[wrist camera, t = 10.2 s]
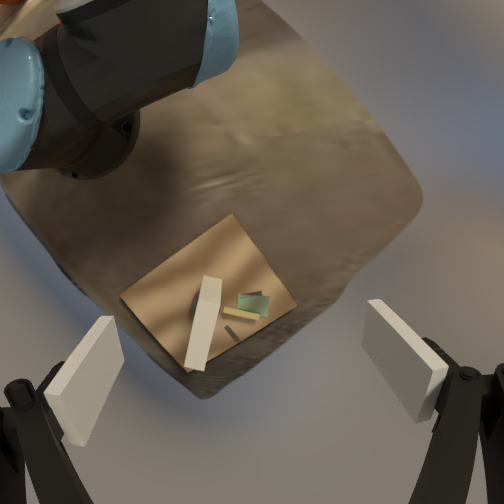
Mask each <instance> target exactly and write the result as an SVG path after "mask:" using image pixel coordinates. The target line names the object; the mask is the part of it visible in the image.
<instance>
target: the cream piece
mask: <svg viewBox="0 0 504 504" xmlns="http://www.w3.org/2000/svg"><path fill="white" fill-rule="evenodd" d="M221 287H222V279H218V278H214V277H209V276H205V275H204V277H203V281H202V286H201V290H199V291H197V292H196V293H195V295H194V296H193V299H192V303H191V311H192V314H193V315H194V316H195V317H194V321H193V326H192V331H191V335H190V340H189V345H188V349H187V354H186V359H185V364H184V367H187V368H192V369H196V370H201V371H204V368H205V364H206V360H207V356H208V352H209V348H210V344H211V340H212V336H213V332H214V328H215V324H216V320H217V316H218V315H219V313H220V309H221ZM223 313H227V314H231V315H236V316H240V317H245V318H250V319H255V320H259V317H260V314H256V313H251V312H246V311H242V310H237V309H232V308H228V307H224V310H223Z"/></svg>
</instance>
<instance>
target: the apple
mask: <svg viewBox="0 0 504 504" xmlns="http://www.w3.org/2000/svg"><path fill="white" fill-rule="evenodd" d="M18 1H20V0H0V4H9V5H12V4H14V3H16V2H18Z"/></svg>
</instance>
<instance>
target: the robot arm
mask: <svg viewBox="0 0 504 504" xmlns="http://www.w3.org/2000/svg"><path fill="white" fill-rule="evenodd" d="M54 11H55V13H56V15H57V16H58V18H59V19H60V21H61V22H60V23H59V24H57V25H56V26H54V27H52V28H51V29H49V30H48V31H46V32H45V33H43V34H42V35H41V36H39V37H38V38H36V39H35V40H33V41H31V40H29V39H28V38H25V37H19V38H7V39H4V40H1V41H0V172H1V173H11V172H12V171H19V170H30V169H42V168H54V169H55V170H56V171H58V172H59V173H61V174H62V175H64V176H67V177H70V178H74V179H91V178H97V177H100V176H103V175H106V174H108V173H109V172H111V171H113V170H114V169H115V168H117V167H118V166H119V165H120V164H121V163H122V162H123V161H124V160H125V159H126V158H127V156H128V155H129V153H130V152H131V150H132V148H133V146H134V144H135V142H136V139H137V136H138V133H139V128H140V110H139V109H141V108H143V107H145V106H147V105H149V104H151V103H153V102H155V101H158V100H160V99H162V98H164V97H167V96H169V95H171V94H173V93H176V92H178V91H180V90H183V89H185V88H188V89H192V88H194V87H196V86H197V85H198V84H199V83H200V82H203V81H205V80H207V79H210V78H212V77H215V76H217V75H219V74H222V73H224V72H225V71H227V70H228V69H229V68H230V66H231V65H232V64H233V62H234V61H235V59H236V56H237V52H238V45H239V30H238V19H237V13H236V6H235V1H234V0H56V3H55V6H54ZM362 346H363V348H364V349H365V351H366V352H367V353H368V355H369V356H370V358H371V359H372V361H373V362H374V363H375V365H376V366H377V368H378V369H379V371H380V372H381V374H382V375H383V377H384V378H385V379H386V381H387V382H388V384H389V385H390V387H391V388H392V389H393V391H394V393H395V394H396V395H397V397H398V398H399V400H400V401H401V403H402V404H403V406H404V407H405V409H406V410H407V412H408V413H409V415H410V416H411V418H412V419H413V421H414V422H415V424H417V423H419V422H423V421H426V420H429V419H431V416H432V414H433V411H434V409H436V411H437V412H438V413H439V415H438V418H437V420H436V423H435V425H434V427H433V430H432V432H433V435H432V438H431V442H430V445H429V448H428V451H427V454H426V458H425V461H424V464H423V466H422V469H421V472H420V475H419V478H418V480H417V483H416V486H415V488H414V491H413V493H412V496H411V498H410V501H409V503H408V504H465V503H466V499H467V495H468V491H469V486H470V481H471V477H472V472H473V466H474V461H475V455H476V448H477V440H478V433H479V435H480V441H481V447H482V454H483V461H484V468H485V476H486V487H487V500H488V504H504V363H502V364H499V365H498V366H497V368H496V369H495V373H494V374H491V375H482V374H481V373H480V372H479V371H478V370H476V369H475V368H472V367H467V366H464V367H460V366H459V365H458V364H457V363H456V362H455V361H454V360H453V359H452V358H451V357H450V356H449V355H448V354H447V353H445V352H444V350H443V349H440V347H439V346H438V345H437V344H436V343H435V342H434V341H432V340H430V339H428V338H426V337H425V338H420V337H419V336H418V335H417V334H416V333H415V332H414V331H413V330H412V329H411V328H410V327H409V326H408V325H407V324H406V323H405V322H404V321H403V320H401V319H400V318H399V317H398V316H397V315H396V314H395V313H394V312H393V311H392V310H391V309H390V308H389V307H388V306H387V305H386V304H385V303H384V302H383V301H381V300H380V299H376V300H368V301H367V306H366V316H365V325H364V333H363V341H362ZM123 363H124V357H123V353H122V349H121V345H120V341H119V337H118V333H117V329H116V325H115V320H114V316H100V317H99V319H98V320H97V321H96V323H95V324H94V325H93V326H92V328H91V329H90V330H89V332H88V333H87V334H86V335H85V337H84V338H83V339H82V341H81V342H80V343H79V345H78V346H77V347H76V349H75V350H74V351H73V353H72V354H71V355H70V357H69V358H68V359H67V361H61V362H60V363H58V364H57V365H55V366H54V367H53V368H52V369H51V371H50V372H49V375H47V376H46V378H45V380H43V382H42V383H41V384H40V386H39V387H38V388H37V390H36V391H35V389H34V387H33V385H32V383H31V382H30V381H29V380H27V379H17V380H14V381H12V382H10V383H9V384H8V385H7V386H6V387H5V389H4V394H5V396H6V398H7V400H8V402H9V404H10V406H11V407H4V408H1V407H0V504H27V502H26V488H25V462H26V466H27V469H28V472H29V475H30V478H31V481H32V484H33V487H34V489H35V492H36V495H37V497H38V500H39V503H40V504H94V503H93V502H92V500H91V498H90V497H89V495H88V493H87V491H86V489H85V488H84V486H83V484H82V482H81V480H80V478H79V476H78V474H77V472H76V471H75V468H74V466H73V464H72V463H71V460H70V458H69V456H68V454H67V452H66V450H65V447H64V445H63V444H62V442H61V439H62V437H63V435H65V437H66V439H67V440H68V442H69V443H70V444H73V445H79V446H84V447H85V446H86V443H87V441H88V439H89V436H90V434H91V432H92V429H93V427H94V425H95V422H96V420H97V418H98V416H99V414H100V411H101V409H102V407H103V405H104V403H105V400H106V398H107V396H108V394H109V392H110V390H111V388H112V385H113V383H114V381H115V379H116V377H117V375H118V373H119V371H120V369H121V366H122V365H123Z"/></svg>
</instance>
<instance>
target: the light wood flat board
mask: <svg viewBox="0 0 504 504" xmlns="http://www.w3.org/2000/svg"><path fill="white" fill-rule="evenodd" d="M204 275H205V276H209V277H214V278H218V279H222V287H221V309H220V313H219V315H218V316H217V320H216V324H215V328H214V332H213V336H212V340H211V344H210V348H209V352H208V356H207V360H206V362H207V361H209V360H211V359H212V358H214V357H216V356H217V355H219V354H221V353H222V352H224V351H226V350H227V349H229V348H231V347H232V346H234V345H236V344H237V343H239V342H241V341H242V340H244V339H246V338H247V337H249V336H250V335H252V334H254V333H255V332H257V331H258V330H260V329H262V328H263V327H265V326H266V325H268V324H270V323H271V322H273V321H274V320H276V319H277V318H279V317H281V316H282V315H284V314H285V313H287V312H288V311H290V310H291V309H293V308H294V307H296V306H297V305H296V303H295V301H294V299H293V298H292V297H291V295H290V294H289V292H288V291H287V290H286V288H285V287H284V285H283V284H282V282H281V281H280V280H279V278H278V277H277V275H276V274H275V272H274V271H273V270H272V268H271V267H270V265H269V264H268V263H267V261H266V260H265V258H264V257H263V256H262V254H261V253H260V251H259V250H258V248H257V247H256V246H255V244H254V243H253V241H252V240H251V239H250V237H249V236H248V234H247V233H246V231H245V230H244V229H243V227H242V226H241V224H240V223H239V222H238V220H237V219H236V217H235V216H234V215H233V213H232V212H231V213H230V214H228V215H227V216H225V217H224V218H223V219H221V220H220V221H218V222H217V223H216V224H214V225H213V226H211V227H210V228H208V229H207V230H206V231H204V232H203V233H201V234H200V235H199V236H197V237H196V238H194V239H193V240H192V241H190V242H189V243H188V244H186V245H185V246H183V247H182V248H181V249H179V250H178V251H176V252H175V253H174V254H172V255H171V256H170V257H168V258H167V259H166V260H164V261H163V262H161V263H160V264H159V265H157V266H156V267H155V268H153V269H152V270H151V271H149V272H148V273H147V274H145V275H144V276H143V277H141V278H140V279H139V280H137V281H136V282H135V283H133V284H132V285H131V286H129V287H128V288H127V289H126V290H124V291H123V292H122V293H121V294H120V297H121V298H122V299H123V301H124V302H125V303H126V304H127V305H128V307H129V308H130V309H131V310H132V311H133V313H134V314H135V315H136V316H137V317H138V319H139V320H140V321H141V322H142V323H143V324H144V326H145V327H146V328H147V329H148V330H149V331H150V332H151V333H152V335H153V336H154V337H155V338H156V339H157V340H158V341H159V342H160V344H161V345H162V346H163V347H164V348H165V349H166V350H167V351H168V352H169V353H170V354H171V355H172V357H173V358H174V359H175V360H176V361H177V362H178V363H179V364H180V365H181V366H182V367H183V368H184V369H185V370H186V371H187V372H190V371H192V370H193V369H192V368H187V367H184V364H185V359H186V354H187V349H188V345H189V340H190V335H191V331H192V326H193V321H194V317H195V316H194V315H193V314H192V311H191V303H192V299H193V296H194V295H195V293H196V292H197V291H199V290H201V286H202V281H203V277H204ZM224 307H228V308H232V309H237V310H242V311H246V312H251V313H256V314H260V317H259V320H255V319H250V318H245V317H240V316H236V315H231V314H227V313H223V310H224Z"/></svg>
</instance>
